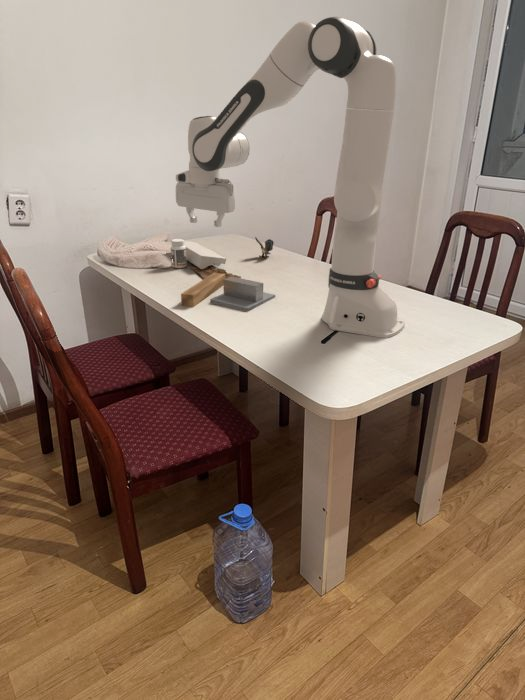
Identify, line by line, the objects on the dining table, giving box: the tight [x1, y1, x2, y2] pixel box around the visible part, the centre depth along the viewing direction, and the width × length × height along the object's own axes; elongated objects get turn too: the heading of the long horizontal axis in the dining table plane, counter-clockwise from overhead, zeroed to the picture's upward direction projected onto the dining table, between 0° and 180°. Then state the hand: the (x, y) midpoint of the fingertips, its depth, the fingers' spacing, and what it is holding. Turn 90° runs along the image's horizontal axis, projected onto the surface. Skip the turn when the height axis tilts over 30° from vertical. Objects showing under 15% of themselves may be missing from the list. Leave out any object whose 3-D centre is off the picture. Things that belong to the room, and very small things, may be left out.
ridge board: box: [209, 276, 276, 312], centre depth 156 cm, size 14×15×6 cm
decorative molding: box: [184, 240, 227, 269], centre depth 199 cm, size 34×5×10 cm
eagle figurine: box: [254, 237, 275, 260], centre depth 201 cm, size 8×7×9 cm
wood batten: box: [180, 273, 225, 308], centre depth 161 cm, size 4×24×4 cm, turn 161°
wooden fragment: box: [191, 266, 242, 280], centre depth 180 cm, size 26×11×1 cm, turn 38°
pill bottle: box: [170, 238, 188, 269], centre depth 189 cm, size 6×6×10 cm
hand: (205, 224), depth 155 cm, fingers open, 8 cm apart
